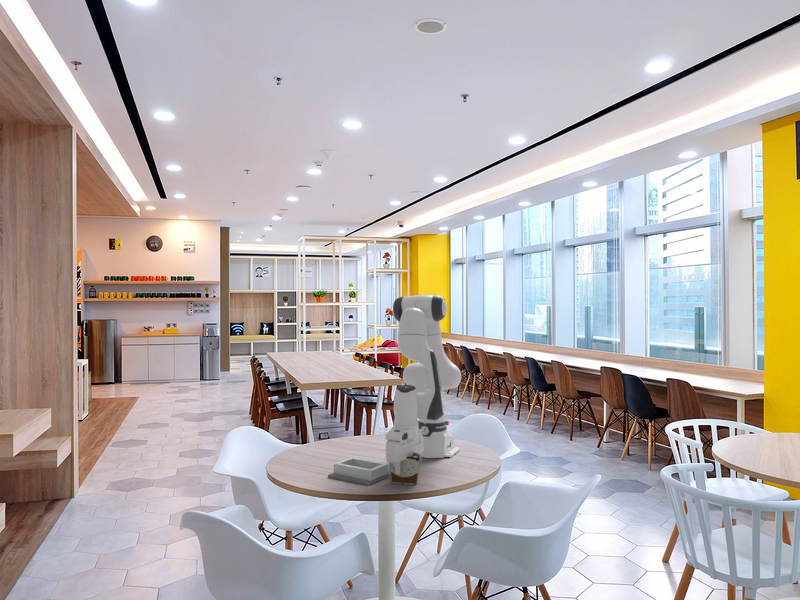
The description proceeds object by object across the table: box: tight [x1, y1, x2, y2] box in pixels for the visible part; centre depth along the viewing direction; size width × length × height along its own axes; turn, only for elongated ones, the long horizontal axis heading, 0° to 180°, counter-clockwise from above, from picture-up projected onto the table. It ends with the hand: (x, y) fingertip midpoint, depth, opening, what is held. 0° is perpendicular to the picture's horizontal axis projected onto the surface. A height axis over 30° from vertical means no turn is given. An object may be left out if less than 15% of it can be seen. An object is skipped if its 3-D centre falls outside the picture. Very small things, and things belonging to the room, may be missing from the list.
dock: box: [327, 456, 391, 487], centre depth 199 cm, size 16×18×4 cm
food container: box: [388, 452, 422, 485], centre depth 193 cm, size 12×6×10 cm, turn 77°
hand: (405, 470), depth 193 cm, fingers open, 8 cm apart
